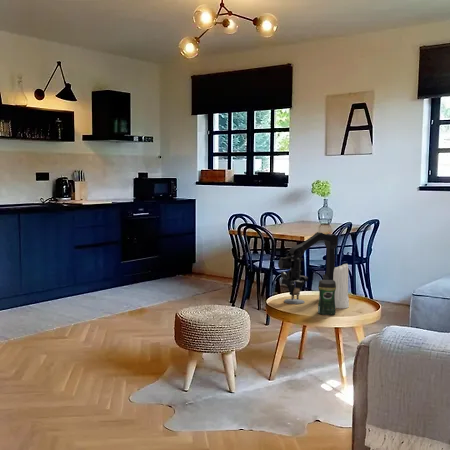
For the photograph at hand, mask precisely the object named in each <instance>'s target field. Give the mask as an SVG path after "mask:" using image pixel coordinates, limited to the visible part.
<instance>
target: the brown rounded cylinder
mask: <svg viewBox="0 0 450 450" xmlns="http://www.w3.org/2000/svg"><path fill="white" fill-rule="evenodd" d="M300 292H301V290H300V288H297V286H295V287H294V291H293V294H292V295H291V298H290V299H291V300H293V299H295V296H296V299H297V300H298V299H300V298H299V297H300V295H301V294H300ZM289 295H290V292H289Z"/></svg>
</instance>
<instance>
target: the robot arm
mask: <svg viewBox="0 0 450 450" xmlns="http://www.w3.org/2000/svg"><path fill="white" fill-rule="evenodd" d="M321 240H322V241H323V243H324V246H325V248H326V271H325V274H322V280H333V274H334V268H335V267H336V266H335V262H336V261H335V260H336V257H335V256H336V255H335V254H336V252H335V251H336V248H337V246H338V242H339V241H338V240H339V238H338V235H336V234H334V233H333V234H332V233H323V232H319V231H317V232H315V233H314V234H312V235H311V236H310V237H309V238H307V239H306V240H305V241H303V242H302V243H299V244H297V245H293V246H292V247H290V249H289V252H288V253H287V254H286V255H285V257H279V260H278V262H277V266H278V269H279V270H288V272H285V271H283V272H281V273H280V277H281V278H282V279H281V284H282V285H285V286H287V289H288V292H289V293H290V294H289V295H290V296H292V294H293V291H294V287H297V288H300V291H302V288H303V287H304V285H305V284H306V282H309V277H308V276H306V275H301V273H302V272H303V270H301V262H304V261H305V260H304V258H302V256H304V254H305V253H306V251H307V250H308V249H309V248H311V247H312V246H313V245H315V244H316V243H318V242H320V241H321ZM294 283H295V284H294Z"/></svg>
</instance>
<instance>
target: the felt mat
mask: <svg viewBox="0 0 450 450" xmlns="http://www.w3.org/2000/svg"><path fill="white" fill-rule="evenodd" d="M283 302H284V303H285V304H289V305H301V304H305V300H304V299H300V298H299V299H298V300H297V298H294V299H293V300H291V298H288V299H284V300H283Z"/></svg>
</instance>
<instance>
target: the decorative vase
mask: <svg viewBox="0 0 450 450" xmlns="http://www.w3.org/2000/svg"><path fill="white" fill-rule="evenodd" d="M333 280H334V281H335V283H336V290H335V309H348V308H349V306H350V304H349V302H350V299H349V294H348V293H349V265H348V263H343V264H342V265H339V266H337V267H336V266H335V268H334V274H333Z"/></svg>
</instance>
